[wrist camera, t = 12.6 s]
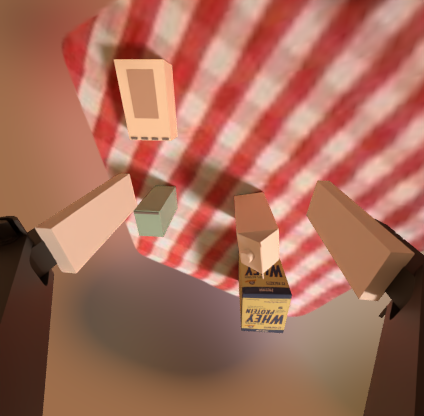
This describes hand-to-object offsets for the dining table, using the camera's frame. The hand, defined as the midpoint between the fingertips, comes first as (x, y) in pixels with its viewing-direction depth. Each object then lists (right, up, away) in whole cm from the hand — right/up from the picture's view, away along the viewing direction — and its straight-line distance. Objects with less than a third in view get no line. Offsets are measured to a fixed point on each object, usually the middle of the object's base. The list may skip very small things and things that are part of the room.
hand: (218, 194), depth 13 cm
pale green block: (-12, +2, +33) cm, 35 cm away
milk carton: (+9, 0, +32) cm, 34 cm away
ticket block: (-12, +20, +23) cm, 32 cm away
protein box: (+13, -18, +42) cm, 48 cm away
